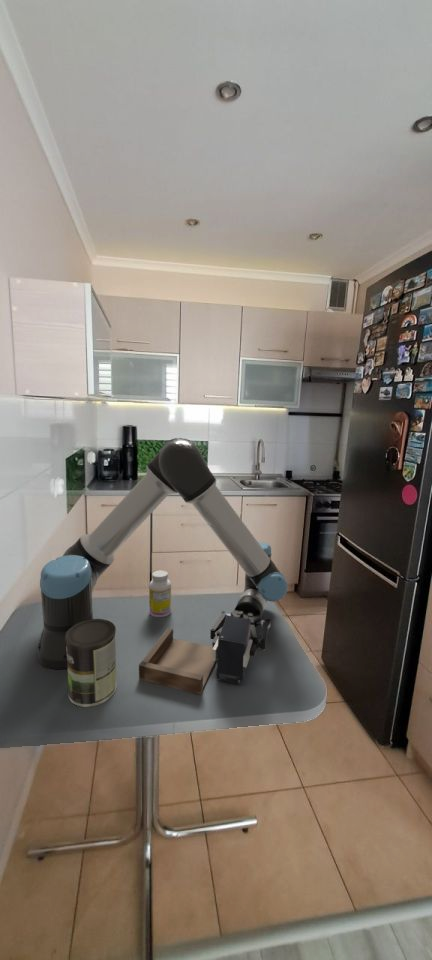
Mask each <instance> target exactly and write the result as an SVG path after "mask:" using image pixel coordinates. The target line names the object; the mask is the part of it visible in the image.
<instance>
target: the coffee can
mask: <svg viewBox="0 0 432 960" xmlns="http://www.w3.org/2000/svg"><path fill="white" fill-rule="evenodd" d="M116 632H117V630H116V625H115V624H114V623H113V622H112V621H110V620H108V619H104V618H93V619H90V620H86V621H82V622H80V623H77V624H75V625H74V626H72V627H71V628H70V629H69V630H68V631H67V632H66V635H65V641H66V651H67V668H66V669H67V682H68V695H67V696H68V699H69V701H70V702H71V703H72V704H73V705H74V704H75V705H74V706H76V705H77V706H76V707H81V708H92V707H97V706H99V705H102V704H104V703H105V702H107V701H108V700H110V699H111V698H112V697H113V695H114V694H115V692H116V691H117V686H118V683H117V659H116V657H117V656H116V654H117V653H116ZM91 706H92V707H91Z"/></svg>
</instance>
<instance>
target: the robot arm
mask: <svg viewBox="0 0 432 960" xmlns="http://www.w3.org/2000/svg"><path fill="white" fill-rule="evenodd" d="M204 458H205V457H204V456H203V454H202V452H201V450H200V449H199V447H197V445H196V444H195V443H194V442H193V441H192V440H191V439H187V438H183V437H174V438H171V439H169V440H167V441H166V442H165V443H164V444H163V445H162V447H161V449H160V450H159V451H158V452H157V454H156V455H155V456H154V457H153V458H152V459H151V460H150V461H149V462H148V464H147V465H145V466H146V473H145V475H144V476H143V477H142V478H141V479H140V480H139V481H138V482H137V483H136V484H135V485H134V487H133V488H131V490H130V491H129V492H127V494H126V495H125V496H124V498H123V499H122V500H121V501H120V502H119V503H118V504H117V505H116V506H115V507H114V508H113V509H112V510H111V512H110V513H108V515H107V516H106V517H105V518H104V519H103V520H102V521H101V522H100V523H99V525H97V526H96V528H95V529H94V530H93V531H92V532H91V533H90V534H89V533H88V534H87V533H86V534H83V535H81V536H80V537H79V538H78V539H77V541H76V542H75V543H74V544H72V545H71V546H70V547H68V548H67V549H66V550H65V551H64V553H63V554H62V556H59V557H56V558H55V559H51V560H50V561H48V562H47V563H46V564H45V565H44V566H43V567H42V569H41V571H40V578H39V587H40V594H41V595H40V596H41V606H42V608H41V609H42V621H43V628H42V632H41V635H40V638H39V642H38V646H37V659H38V662H39V663H40V664H41V665H42V666H44V667H46V668H48V669H53V670H64V669H67V651H66V641H65V635H66V632H67V631H68V630H69V629H70V628H71V627H72V626H74V625H75V624H77V623H80V622H82V621H86V620H90V619H94V612H93V609H94V608H93V592H94V589H95V586H96V584H97V582H98V580H99V578H100V577H101V576H102V575H103V574H104V572H106V571H107V569H108V568H109V567H110V566H111V565H112V564H113V563H114V560H115V557H114V556H115V555H114V554H115V553H116V552H117V551H118V550H119V549H120V548H121V546H122V545H123V544H124V543H125V542H126V541H127V540H129V538H130V537H131V535H133V533H135V532H136V530H137V529H138V528H139V527H140V526H141V525H142V524H143V523H144V522H145V521H146V520H147V518H148V517H149V516H150V515H151V514H153V512H154V511H155V510H156V509H158V506H159V505H160V504H162V502H163V501H165V499H166V498H167V497H168V496H169V495H172V494H173V495H174V494H178V495H180V497H181V498H182V500H184V502H185V503H186V504H192V505H193V507H194V509H196V511H197V512H198V513H199V515H201V517H202V518H203V520H204V521H205V522H206V523H207V525H208V526H209V527H210V529H211V530H212V531H213V532H214V534H215V535H216V537H217V538H218V539H219V541H220V542H221V543H222V545H224V547H225V549H226V550H228V552H229V553H230V554H231V556H232V557H233V559H235V561H236V562H237V564H238V565H239V566H240V567H241V569H242V570H243V571H244V572H245V576H244V577H245V578H244V589H243V592H242V594H241V595H240V597H239V600H238V602H237V604H236V606H235V608H234V610H233V611H232V612H230V613H226V611H225V610H221V611H220V615H219V617H218V618H217V619H216V621H215V622H214V624H213V625H212V626H211V627H210V636H209V637H210V640H212V647H213V649H212V660H216V658H217V655H218V638H219V635H220V633H221V630H222V627H223V625H224V622H225V620H226V617H227V615H228V616H234V617H239V618H245V619H250V620H251V626H250V639H249V642H248V645H247V648H246V651H245V654H244V656H243V667H246V668H247V667H248V664H249V660H250V657H255V656H256V653H257V650H258V649H260V650H262V651H264V650H266V647H267V646H266V645H267V638H268V632H269V631H270V630H271V623H272V622H271V619H270V618H267V619H265V620H264V619H262V616H263V615H264V611H265V608H266V605H267V602H273V603H274V602H278V601H280V600H281V599H283V598H284V597H285V596H286V594H287V592H288V582H287V581H286V578H285V576H284V575H283V574H282V573H281V571H280V570H279V569H278V567H277V566H276V564H275V563H274V561H273V560H272V554H273V553H272V547H271V545H270V544H268V543H266V542H261V541H258V540H257V539H256V538H255V537H254V535H253V534H252V532H251V531H250V529H249V528H248V527H247V525H246V524H245V522H244V521H243V520H242V519H241V517H240V516H239V515H238V514H237V512H236V511H235V510H234V508H233V507H232V505H231V504H230V503H229V500H227V498H226V497H225V496H224V494H223V492H221V491H220V488H218V486H217V478H216V477H215V476H214V475H213V473H212V471H211V470H210V468H209V467H208V464H207V463H206V461H205V459H204ZM257 627H260V628H262V629H261V636H260V639H259V636H258V633H257V630H256V628H257ZM216 661H217V660H216Z"/></svg>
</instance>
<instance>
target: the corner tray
mask: <svg viewBox="0 0 432 960" xmlns="http://www.w3.org/2000/svg"><path fill="white" fill-rule="evenodd" d="M212 649H213V646H210V645H206V644H201V643H196V642H191V641H186V640H181V639H176V638H174V628H172V627H167V628H166V630H165V631H164V632H163V633H162V635H161V636H160V637H159V638H158V640H157V641H156V642H155V644H154V645H153V646H152V648H151V649H150V650H149V652H148V653H147V654H146V656H145V657H143V659H142V661H141V662H140V663H139V664H138V679H139V680H141V681H145V682H148V683H152V684H157V685H160V686H164V687H169V688H173V689H177V690H180V691H185V692H188V693H193V694H195V695H199V696H200V695H202V692H203V690H204V689H205V685H206V684H207V682H208V680H209V677H210V675H211V673H212V671H213V670H214V669H213V668H214V667H215V664H216V663H217V658H216V660H212Z"/></svg>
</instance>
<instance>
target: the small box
mask: <svg viewBox="0 0 432 960" xmlns="http://www.w3.org/2000/svg"><path fill="white" fill-rule="evenodd" d="M250 626H251V620H250V619H245V618H239V617H234V616H228V615H227V617H226V620H225V622H224V625H223V627H222V630H221V633H220V635H219V638H218V655H217V660H216V663H217V664H216V676H215V677H216V680H217V681H223V682H228V683H233V684H237V685H242V684H243V682H244V678H245V673H246V670H247V669H246V668H247V667H243V656H244V654H245V651H246V648H247V645H248V642H249V639H250Z"/></svg>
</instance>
